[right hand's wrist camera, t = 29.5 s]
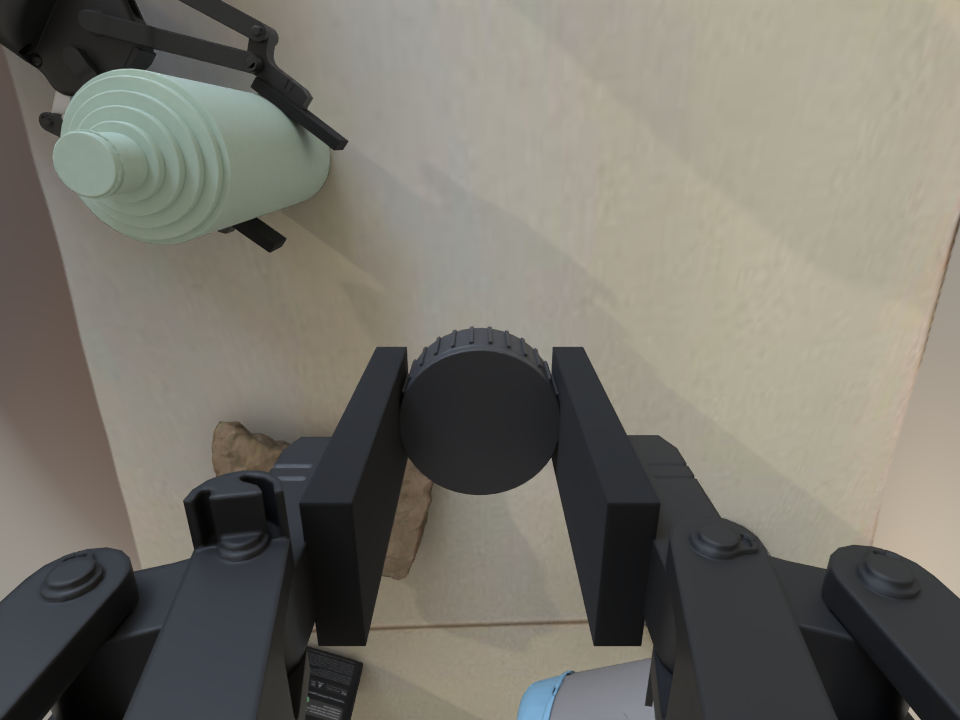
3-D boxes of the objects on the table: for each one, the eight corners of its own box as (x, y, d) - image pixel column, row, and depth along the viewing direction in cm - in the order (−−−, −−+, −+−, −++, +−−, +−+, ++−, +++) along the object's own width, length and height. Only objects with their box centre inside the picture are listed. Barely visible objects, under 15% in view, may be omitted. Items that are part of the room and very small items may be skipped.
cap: (566, 448, 15) (575, 481, 13) (424, 474, 15) (419, 509, 14) (541, 310, 14) (548, 331, 12) (386, 342, 14) (375, 366, 12)
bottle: (223, 186, 47) (-21, 228, 24) (239, 83, 44) (-18, 21, 21) (318, 217, 48) (170, 287, 25) (340, 119, 45) (197, 96, 22)
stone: (207, 556, 57) (189, 590, 51) (220, 413, 55) (203, 431, 49) (416, 565, 61) (421, 597, 55) (435, 433, 59) (443, 452, 53)
